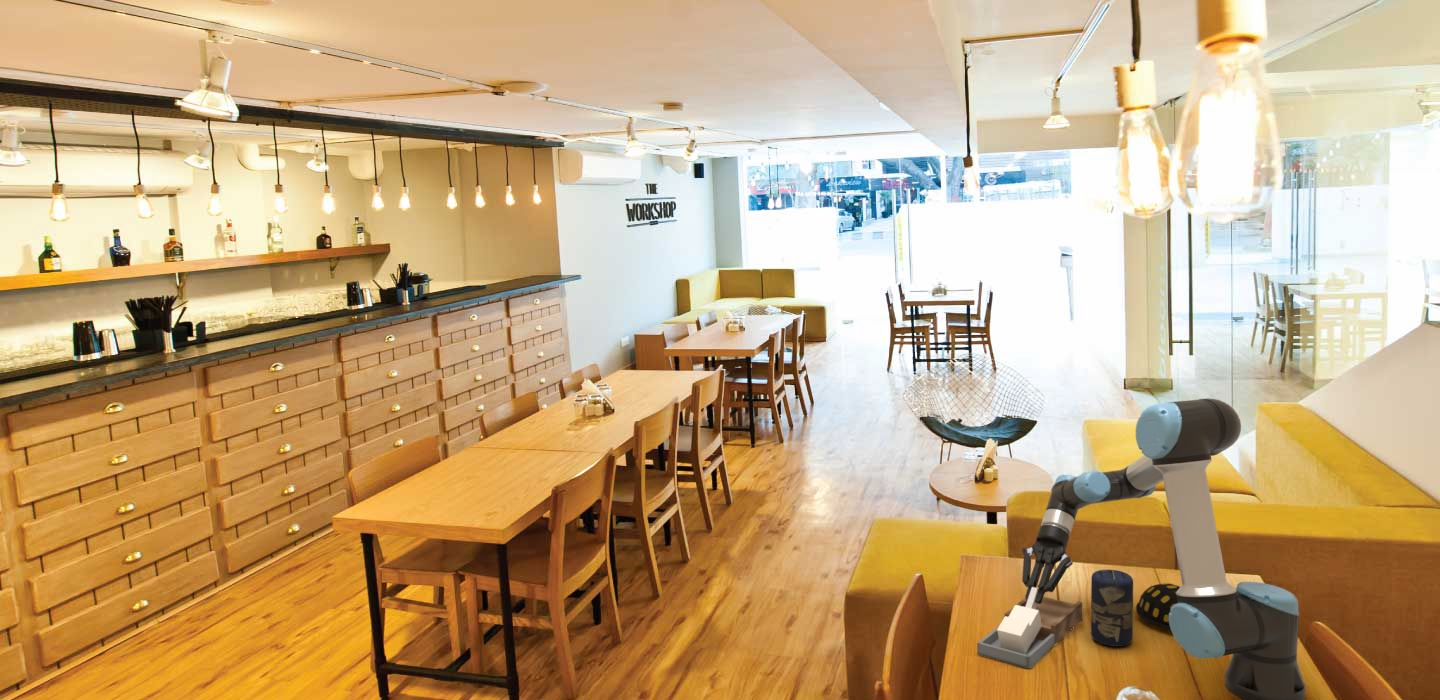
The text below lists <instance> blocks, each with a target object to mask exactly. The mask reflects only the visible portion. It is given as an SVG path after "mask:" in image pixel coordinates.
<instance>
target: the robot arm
mask: <svg viewBox="0 0 1440 700" xmlns="http://www.w3.org/2000/svg"><path fill="white" fill-rule="evenodd" d="M1241 431H1242V423H1241V419H1240V415H1239V414H1238V413H1237V412H1236V410H1235V409H1234V408H1233V407H1232V406H1231V405H1229V404H1228V403H1227V402H1225V401H1222V400H1220V399H1217V398H1216V399H1215V398H1211V397H1210V398H1200V399H1191V400H1180V401H1168V402H1167V401H1164V402H1163V403H1157V404H1153V405H1150V406H1147V407H1146V408H1145V409H1144V410H1143V411H1142V412H1141V413H1140V417H1138V419H1137V421H1136V426H1135V440H1136V445H1137V447H1138V449H1139V450H1141V454H1142V455H1143V456H1141V457H1139V458H1138V459H1137V460H1135V461H1133V462H1132V463H1131V464H1129V465H1127V466H1126V467H1124V468H1122V469H1118V470H1108V471H1103V472H1102V471H1101V472H1100V471H1098V470H1090V471H1087V472H1083V473H1081V474H1079V475H1078V476H1075V475H1072V474H1059V475H1058V477H1056V479H1055V481H1054V484H1053V485H1052V487H1051V493H1050V495H1049V499H1048V501H1047V506H1046V509H1045V512H1044V514H1043V516H1042V517H1043V518H1042V521H1041V522H1040V523H1041V524H1040V527H1039V530H1038V532H1037V536H1036V540H1035V542H1034V543H1033V544H1032V546H1031V547H1029V548H1026V547H1023V548H1022V549H1021V552H1022V555H1023V563H1022V564H1023V565H1022V576H1021V577H1022V578H1021V579H1022V581H1021V582H1022V583H1023V584H1024V586H1025V587H1026V588H1027V590H1026V592H1025V596H1024V598H1025V599H1026V600H1027V604H1026V607H1027V608H1031V609H1035V610H1036V607H1037V603H1038V604H1041V602H1042V599H1043V597H1045V594H1046V593H1053V592H1054V590H1055V589H1056V588H1057V586H1058V585H1059V582H1060V580H1061V579H1062V578H1063V576H1064V574H1065V572H1066V571H1067V570H1068V569H1069V568H1070V567H1071V566H1072V565H1073V564H1074V563H1073V560H1072V559H1071V557H1070V556H1068V555H1067V553H1066V552H1067V551H1066V549H1067V547H1068V544H1069V541H1070V540H1069V539H1070V535H1071V534H1072V533H1071V532H1072V530H1073V526H1074V524H1075V521H1076V517H1077V515H1078V511H1079V510H1080V509H1082V508H1085V507H1087V506H1090V505H1093V504H1101V503H1108V502H1112V501H1121V500H1130V499H1141V498H1143V497H1148V496H1151V495H1153V493H1154V490H1155V489H1156V486H1157V485H1159V484H1161V483H1163V486H1164V491H1165V496H1166V502H1167V508H1168V512H1169V513H1168V514H1169V518H1170V525H1171V529H1172V535H1173V539H1174V546H1175V551H1176V555H1177V556H1176V557H1177V563H1178V569H1179V573H1180V580H1181V583H1182V584H1181V586H1179V587H1180V588H1179V589H1178V591H1177V592H1176V594H1177V600H1178V604H1175V605H1174V606H1173V607H1172V608H1171V610H1170V611H1171V612H1170V613H1169V625H1170V628H1171V630H1170V631H1171V633H1172V636H1173V637H1174V639H1175V641H1176V643H1178V645H1179V646H1181V648H1182V649H1183V650H1184V651H1185V652H1186V653H1188V654H1189V655H1191V656H1192V657H1194V658H1196V659H1211V658H1212V659H1213V658H1214V659H1219V658H1222V657H1225V656H1230V655H1232V656H1231V659H1230V662H1229V664H1228V666H1227V668H1226V670H1225V675H1224V677H1225V678H1224V680H1225V681H1224V685H1225V686H1226V688H1227V689H1228V690H1229V691H1230V692H1231V693H1233V694H1234V695H1235V696H1238V697H1239V698H1241V699H1243V700H1305V699H1306V684H1305V681H1304V678H1303V675H1302V673H1301V669H1300V667H1299V663H1298V640H1299V639H1298V638H1299V634H1298V633H1299V619H1300V618H1299V616H1300V612H1299V601H1298V598H1297V597H1296V595H1294V594H1293V593H1292V592H1291V591H1289V590H1286V589H1285V588H1282V587H1280V586H1277V585H1272V584H1268V583H1264V582H1259V581H1258V582H1257V581H1241V582H1238V583H1237V585H1236V587H1234V586H1233V585H1232V584H1230V583H1229V582H1228V581H1227V576H1226V572H1225V566H1224V565H1225V564H1224V560H1223V555H1222V550H1221V545H1220V539H1219V534H1218V529H1217V524H1216V522H1217V521H1216V519H1215V513H1214V508H1213V503H1212V498H1211V493H1210V487H1209V480H1208V477H1207V471H1206V470H1207V467H1208V466H1209V465H1210V464H1211V462H1212V457H1214V456H1217V455H1219V454H1220V453H1222V452H1224V451H1226V450H1227V449H1229V448H1230V447H1232V446H1233V445H1234V444H1236V442H1237V440H1238V439H1239V438H1240V435H1241ZM1033 554H1034V556H1035V560H1034V566H1033V568H1032V559H1031V558H1032V557H1033ZM1058 562H1059V564H1058ZM1056 564H1058V565H1057V566H1056ZM1055 566H1056V569H1055ZM1053 570H1054V572H1053ZM1031 571H1032V572H1031ZM1038 583H1039V584H1038Z"/></svg>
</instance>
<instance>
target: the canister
mask: <svg viewBox="0 0 1440 700" xmlns="http://www.w3.org/2000/svg"><path fill="white" fill-rule="evenodd" d="M1090 578H1091V587H1090V589H1091V590H1090V593H1091V594H1090V596H1091V597H1090V598H1091V599H1090V600H1091V601H1090V635H1091V637H1092V639H1093V640H1095V641H1096V642H1098V643H1099V644H1102V645H1106V646H1110V647H1111V646H1112V647H1123V646H1127V645H1129V644H1130V643H1131V642H1132V641H1133V628H1134V627H1133V626H1134V624H1133V623H1134V621H1133V619H1134V616H1133V615H1134V579H1133V578H1132V576H1131V575H1130V574H1128V573H1127V572H1124V571H1121V570H1117V569H1100V570H1097V571H1095V572H1093V573H1092V574H1091V577H1090Z"/></svg>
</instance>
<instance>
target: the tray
mask: <svg viewBox="0 0 1440 700" xmlns="http://www.w3.org/2000/svg"><path fill="white" fill-rule="evenodd" d="M999 626H1000V624H999V625H998V626H996V627H995V628H993V630H991V632H989V633H988V634H987V635H985V636H984V637H983V638H982V639H980V640H979V641H977V643H976V645H977V646H976V647H977V648H976V649H977V654H979V655H978V656H980V655H982V656H981V657H984V656H986V657H985V658H987V657H989V658H988V659H991V658H992V660H994V661H995V660H996V661H999V662H1002V663H1006V664H1009V665H1012V666H1017V667H1020V668H1024V669H1027V670H1030V669H1031V668H1032V667H1034V666H1035V665H1036V664H1037V663H1038V662H1039V661H1041V659H1042V658H1043V657H1044V656H1045V655H1047V652H1048V651H1049V650H1050V649H1051V648H1052V647H1053V646H1054V645H1055V634H1050V635H1049V636H1048V637H1047V638H1046V639H1045V640H1044V641H1042V640H1038V639H1034V641H1033V642H1032V643H1031V645H1030V647H1029V649H1028V650H1027V652H1026V654H1022V653H1018V652H1014V651H1011V650H1007V649H1003V648H1001V645H1000V641H999V636H998V632H997V629H998V627H999ZM1055 646H1056V645H1055ZM1055 646H1054V647H1055ZM1054 647H1053V648H1054ZM1053 648H1052V649H1053ZM1052 649H1051V650H1052ZM1051 650H1050V651H1051ZM1050 651H1049V652H1050ZM1049 652H1048V653H1049Z"/></svg>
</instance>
